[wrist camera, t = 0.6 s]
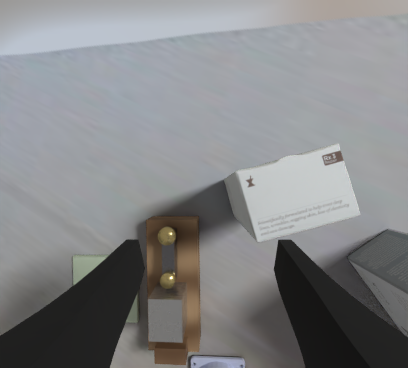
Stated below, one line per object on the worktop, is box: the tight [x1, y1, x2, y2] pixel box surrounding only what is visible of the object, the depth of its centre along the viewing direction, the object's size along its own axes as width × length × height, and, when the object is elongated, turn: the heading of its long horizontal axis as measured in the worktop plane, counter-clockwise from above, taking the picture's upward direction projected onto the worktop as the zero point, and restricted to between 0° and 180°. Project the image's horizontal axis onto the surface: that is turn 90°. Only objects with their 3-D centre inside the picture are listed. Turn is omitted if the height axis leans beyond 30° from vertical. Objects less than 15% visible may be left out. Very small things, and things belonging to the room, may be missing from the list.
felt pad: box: [73, 255, 139, 323], centre depth 30 cm, size 10×10×1 cm
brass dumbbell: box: [158, 227, 178, 289], centre depth 25 cm, size 8×2×2 cm, turn 1°
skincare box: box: [224, 144, 360, 243], centre depth 22 cm, size 8×6×15 cm
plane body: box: [146, 216, 201, 365], centre depth 27 cm, size 18×7×5 cm, turn 1°
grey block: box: [148, 282, 187, 343], centre depth 25 cm, size 5×4×4 cm
